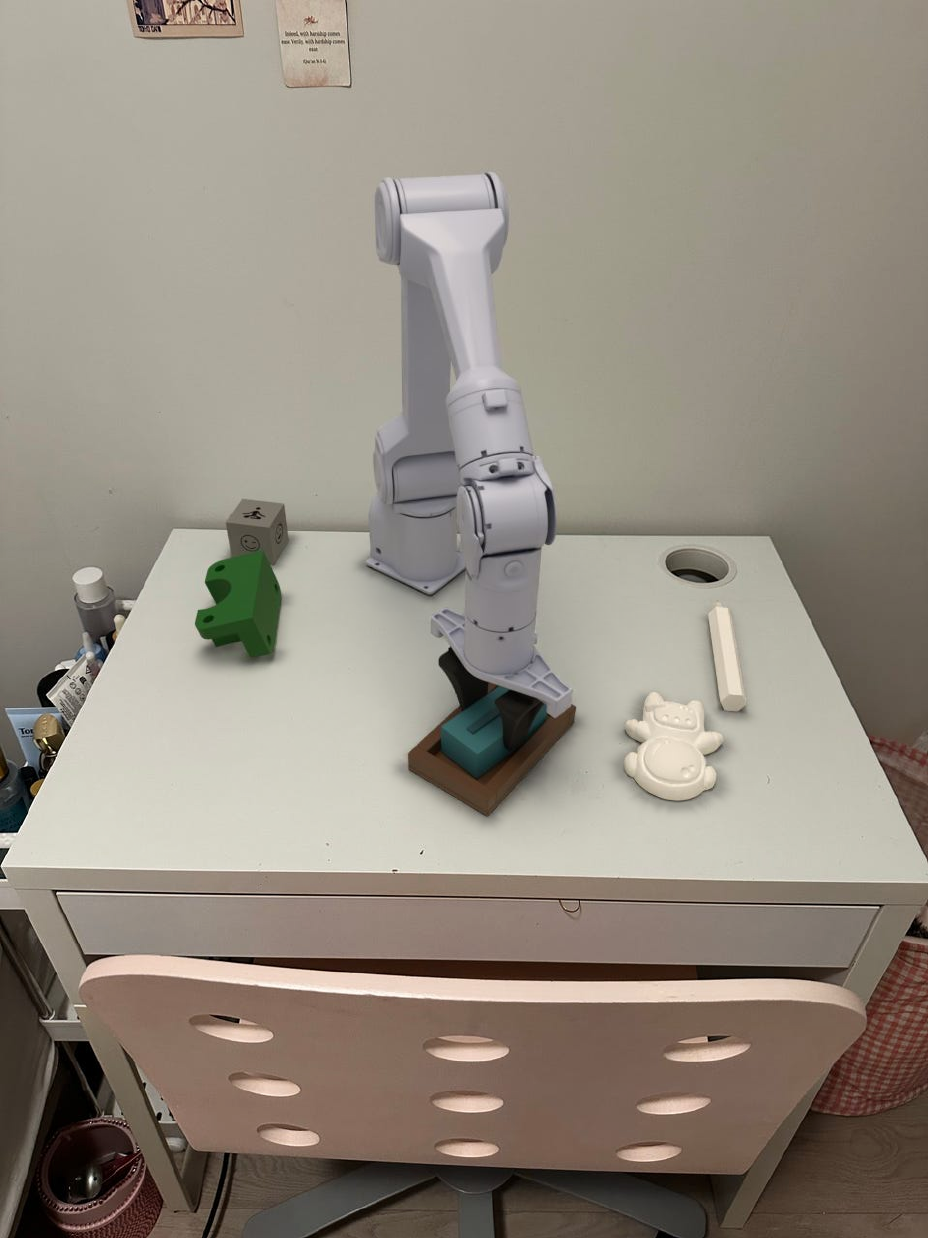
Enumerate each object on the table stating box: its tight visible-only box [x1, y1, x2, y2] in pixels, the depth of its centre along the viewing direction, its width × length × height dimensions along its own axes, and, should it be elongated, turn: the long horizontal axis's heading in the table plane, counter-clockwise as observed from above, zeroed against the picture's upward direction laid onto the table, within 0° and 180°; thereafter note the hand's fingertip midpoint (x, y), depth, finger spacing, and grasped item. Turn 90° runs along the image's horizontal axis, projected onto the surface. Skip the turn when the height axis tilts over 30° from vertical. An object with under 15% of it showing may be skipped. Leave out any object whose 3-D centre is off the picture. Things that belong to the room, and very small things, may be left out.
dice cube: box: [225, 498, 290, 566], centre depth 106 cm, size 5×5×5 cm
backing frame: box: [407, 682, 577, 817], centre depth 83 cm, size 14×9×2 cm, turn 143°
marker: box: [707, 599, 747, 712], centre depth 93 cm, size 3×2×16 cm
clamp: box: [194, 550, 282, 659], centre depth 94 cm, size 12×6×9 cm, turn 178°
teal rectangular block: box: [441, 686, 547, 779], centre depth 83 cm, size 9×4×4 cm, turn 135°
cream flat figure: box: [623, 691, 724, 801], centre depth 83 cm, size 9×12×3 cm
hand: (494, 729), depth 83 cm, fingers closed on teal rectangular block, 4 cm apart
